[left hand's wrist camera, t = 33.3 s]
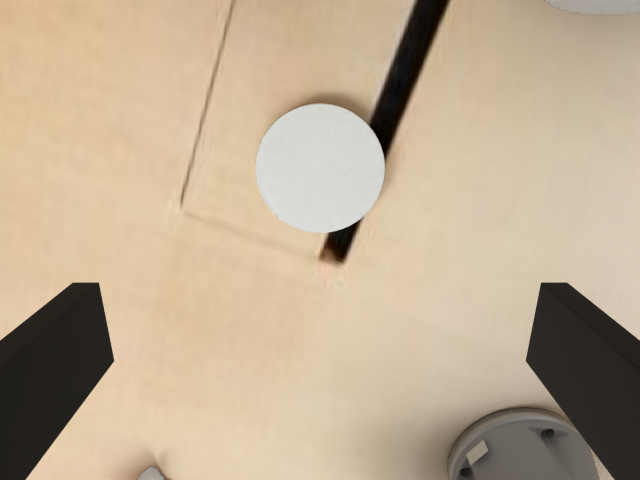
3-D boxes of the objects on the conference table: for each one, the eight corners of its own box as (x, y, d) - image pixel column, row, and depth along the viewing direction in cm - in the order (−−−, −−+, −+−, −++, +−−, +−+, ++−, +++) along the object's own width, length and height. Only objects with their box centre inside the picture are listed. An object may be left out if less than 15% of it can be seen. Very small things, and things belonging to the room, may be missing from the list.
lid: (407, 156, 37) (411, 160, 35) (330, 247, 39) (331, 255, 38) (308, 74, 34) (307, 74, 32) (234, 178, 37) (230, 183, 35)
